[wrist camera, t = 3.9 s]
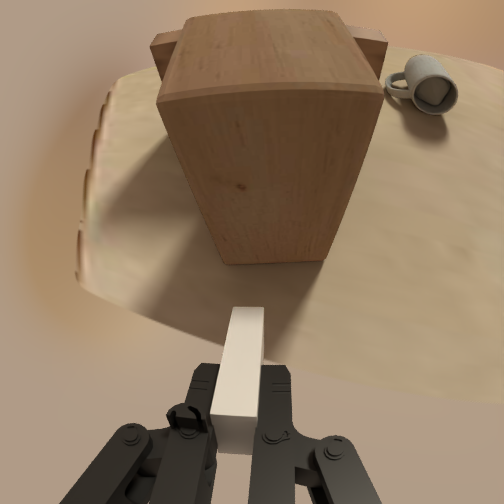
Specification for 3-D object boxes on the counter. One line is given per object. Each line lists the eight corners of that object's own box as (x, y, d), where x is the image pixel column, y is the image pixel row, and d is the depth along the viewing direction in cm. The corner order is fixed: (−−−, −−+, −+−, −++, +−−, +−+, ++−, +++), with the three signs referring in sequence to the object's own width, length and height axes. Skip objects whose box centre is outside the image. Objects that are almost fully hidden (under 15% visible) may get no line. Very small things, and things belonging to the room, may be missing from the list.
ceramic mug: (435, 89, 39) (447, 56, 32) (448, 120, 36) (465, 84, 29) (379, 76, 40) (387, 40, 33) (388, 106, 37) (399, 66, 30)
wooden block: (223, 266, 29) (150, 103, 11) (225, 181, 33) (184, 16, 15) (326, 262, 29) (390, 93, 10) (315, 177, 33) (337, 9, 14)
